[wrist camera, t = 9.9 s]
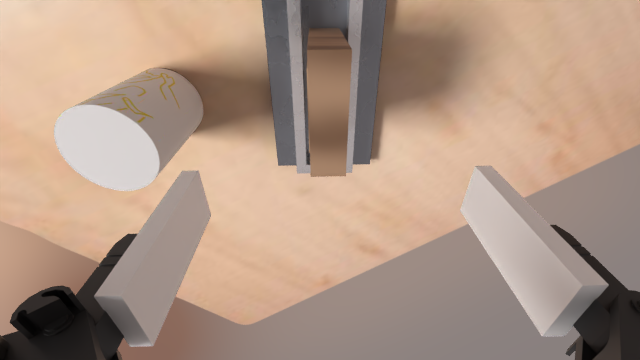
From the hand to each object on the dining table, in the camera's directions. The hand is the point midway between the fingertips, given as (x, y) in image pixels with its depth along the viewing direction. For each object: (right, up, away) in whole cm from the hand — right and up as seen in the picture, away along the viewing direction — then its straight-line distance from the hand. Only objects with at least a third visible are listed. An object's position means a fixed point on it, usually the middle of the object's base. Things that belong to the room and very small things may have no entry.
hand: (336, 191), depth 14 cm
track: (0, +12, +19) cm, 22 cm away
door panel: (0, +12, +18) cm, 21 cm away
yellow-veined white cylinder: (-19, +10, +20) cm, 29 cm away
